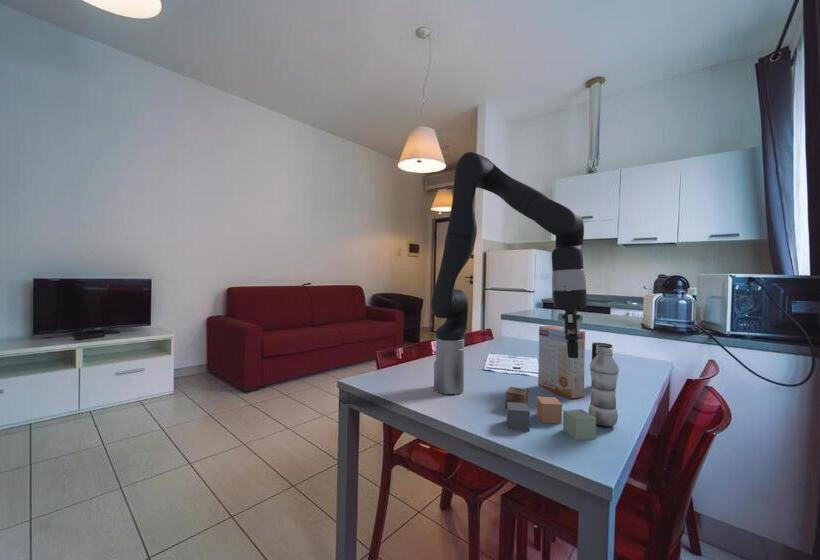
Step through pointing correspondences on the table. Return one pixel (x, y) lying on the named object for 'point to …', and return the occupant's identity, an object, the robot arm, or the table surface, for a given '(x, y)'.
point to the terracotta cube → (549, 410)
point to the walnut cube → (516, 395)
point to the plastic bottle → (604, 387)
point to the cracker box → (560, 363)
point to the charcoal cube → (518, 416)
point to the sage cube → (579, 424)
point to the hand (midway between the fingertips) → (573, 354)
